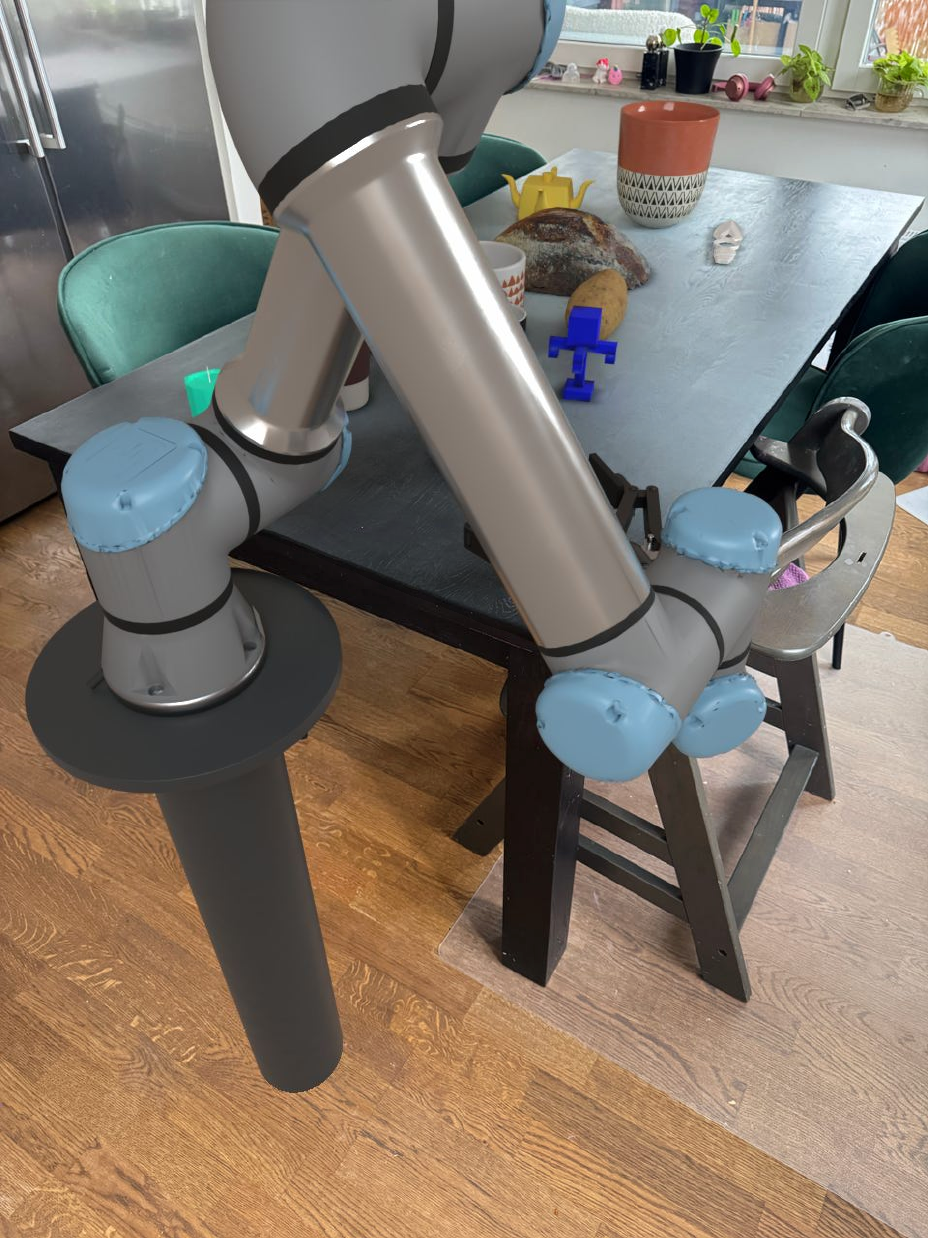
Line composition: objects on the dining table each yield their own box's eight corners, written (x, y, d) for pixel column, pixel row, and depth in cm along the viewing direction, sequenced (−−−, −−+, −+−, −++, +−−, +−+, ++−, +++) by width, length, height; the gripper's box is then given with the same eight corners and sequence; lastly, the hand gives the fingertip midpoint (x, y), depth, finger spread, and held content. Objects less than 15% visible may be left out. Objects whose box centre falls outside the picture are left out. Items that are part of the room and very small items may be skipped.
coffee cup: (350, 424, 117) (340, 316, 108) (294, 407, 121) (279, 301, 111) (391, 395, 124) (385, 291, 114) (336, 379, 128) (325, 277, 118)
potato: (549, 349, 136) (553, 290, 130) (586, 315, 146) (592, 259, 140) (600, 360, 133) (607, 300, 127) (635, 325, 143) (642, 268, 137)
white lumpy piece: (706, 262, 166) (706, 258, 165) (717, 220, 186) (717, 216, 185) (737, 265, 164) (738, 261, 164) (745, 222, 185) (746, 218, 184)
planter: (602, 234, 179) (614, 117, 165) (615, 207, 193) (627, 98, 179) (697, 242, 175) (718, 123, 161) (703, 214, 189) (722, 103, 175)
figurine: (614, 398, 123) (625, 315, 116) (572, 410, 121) (580, 327, 113) (583, 377, 128) (591, 297, 120) (541, 389, 125) (547, 308, 117)
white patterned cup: (429, 322, 144) (427, 243, 135) (508, 315, 146) (511, 236, 138) (449, 356, 134) (448, 273, 125) (532, 347, 136) (537, 265, 128)
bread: (507, 237, 177) (508, 184, 171) (663, 257, 168) (671, 202, 162) (458, 281, 158) (458, 224, 152) (632, 306, 149) (639, 246, 143)
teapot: (592, 224, 184) (596, 175, 177) (539, 236, 178) (541, 185, 172) (551, 207, 193) (554, 160, 187) (499, 218, 187) (500, 169, 181)
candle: (196, 466, 109) (175, 377, 101) (206, 442, 114) (187, 355, 106) (243, 466, 109) (226, 377, 101) (252, 442, 114) (236, 355, 106)
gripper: (490, 667, 72) (416, 528, 87) (744, 605, 78) (635, 485, 93) (492, 598, 67) (414, 464, 82) (763, 538, 73) (644, 423, 88)
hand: (531, 475), depth 88 cm, fingers open, 13 cm apart
